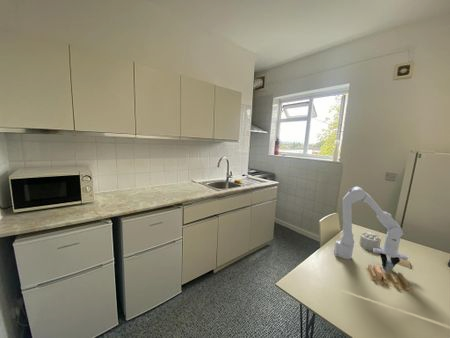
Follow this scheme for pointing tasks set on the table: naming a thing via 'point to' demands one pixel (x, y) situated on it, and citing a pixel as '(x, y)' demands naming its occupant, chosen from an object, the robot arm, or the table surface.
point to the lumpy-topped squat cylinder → (369, 241)
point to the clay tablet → (403, 262)
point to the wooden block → (377, 272)
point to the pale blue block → (388, 265)
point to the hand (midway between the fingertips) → (387, 267)
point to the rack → (389, 279)
